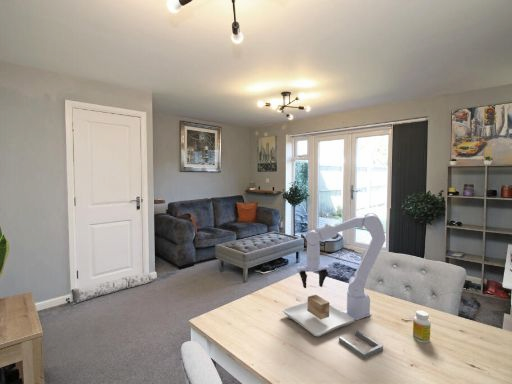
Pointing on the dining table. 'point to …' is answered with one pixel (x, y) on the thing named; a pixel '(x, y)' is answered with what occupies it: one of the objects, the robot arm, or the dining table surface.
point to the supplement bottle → (421, 326)
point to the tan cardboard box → (318, 306)
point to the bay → (362, 354)
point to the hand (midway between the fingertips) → (312, 286)
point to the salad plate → (316, 324)
